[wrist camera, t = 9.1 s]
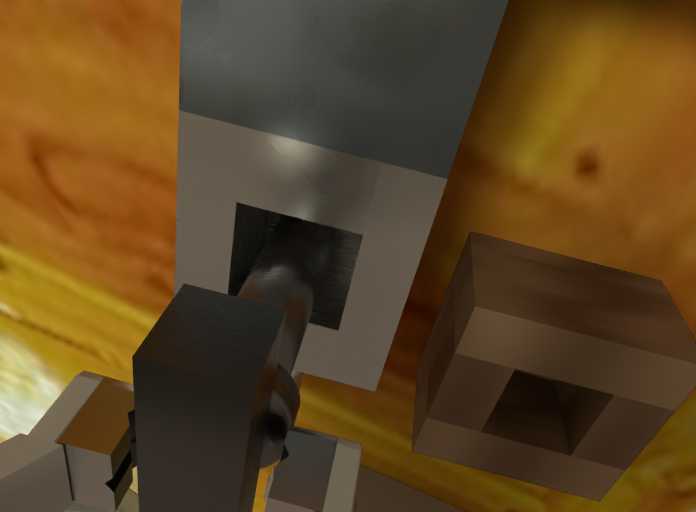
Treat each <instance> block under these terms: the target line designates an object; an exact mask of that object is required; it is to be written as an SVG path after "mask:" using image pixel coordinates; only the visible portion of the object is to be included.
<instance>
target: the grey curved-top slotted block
mask: <svg viewBox="0 0 696 512" xmlns="http://www.w3.org/2000/svg"><path fill="white" fill-rule="evenodd" d="M276 468H277V467H276V466H273V469H272V472H271V475H270V476H269V477H268V480H267V485H266V489H265V494H264V501H266V502H267V498H268V495H269V491H270V488H271V485H272V481H273V478H274V475H275V471H276ZM352 512H465V511H462V510H460V509H458V508H456V507H453V506H451V505H449V504H447V503H444V502H442V501H440V500H438V499H435V498H433V497H431V496H429V495H426V494H424V493H422V492H420V491H417V490H415V489H413V488H411V487H409V486H406V485H404V484H402V483H400V482H397V481H395V480H393V479H391V478H388V477H386V476H384V475H382V474H379V473H377V472H375V471H373V470H370V469H368V468H366V467H364V466H361V465H360V467H359V473H358V479H357V485H356V492H355V498H354V504H353V511H352Z"/></svg>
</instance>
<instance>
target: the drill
mask: <svg viewBox="0 0 696 512" xmlns="http://www.w3.org/2000/svg"><path fill="white" fill-rule="evenodd" d="M508 1H509V0H181V41H180V83H179V126H178V168H177V210H176V253H175V295H176V294H177V293H178V291H179V290H180V288H181V287H182V285H183V284H184V283H185V284H189V285H193V286H197V287H201V288H205V289H209V290H213V291H217V292H221V293H224V294H228V295H232V296H236V297H237V296H238V294H239V292H240V290H241V288H242V286H243V285H244V283H245V281H246V279H247V277H248V275H249V273H250V272H251V270H252V268H253V266H254V264H255V262H256V260H257V259H258V257H259V255H260V253H261V251H262V249H263V248H264V246H265V244H266V242H267V240H268V238H269V236H270V235H271V233H272V231H273V229H274V227H275V225H276V223H277V222H278V220H279V218H280V216H281V214H284V215H288V216H292V217H296V218H300V219H303V220H307V221H311V222H315V223H319V224H323V225H327V226H330V227H334V228H338V229H339V232H338V235H337V238H336V241H335V244H334V247H333V250H332V253H331V256H330V259H329V262H328V265H327V268H326V271H325V274H324V277H323V280H322V283H321V286H320V289H319V292H318V295H317V298H316V301H315V304H314V307H313V310H312V313H311V316H310V319H309V322H308V325H307V328H306V331H305V334H304V337H303V340H302V343H301V346H300V350H299V353H298V356H297V359H296V362H295V365H294V368H293V371H292V374H291V376H292V378H293V380H294V381H295V383H296V385H297V387H298V390H299V391H300V386H301V382H302V377H303V373H306V374H310V375H314V376H317V377H321V378H325V379H329V380H333V381H336V382H340V383H344V384H348V385H351V386H355V387H359V388H363V389H366V390H370V391H374V392H375V391H376V388H377V385H378V382H379V379H380V376H381V373H382V370H383V367H384V365H385V362H386V359H387V356H388V353H389V350H390V347H391V344H392V341H393V338H394V335H395V332H396V329H397V326H398V324H399V321H400V318H401V315H402V312H403V309H404V306H405V303H406V300H407V297H408V294H409V291H410V288H411V285H412V283H413V280H414V277H415V274H416V271H417V268H418V265H419V262H420V259H421V256H422V253H423V250H424V247H425V244H426V242H427V239H428V236H429V233H430V230H431V227H432V224H433V221H434V218H435V215H436V212H437V209H438V206H439V203H440V201H441V198H442V195H443V192H444V189H445V186H446V183H447V180H448V177H449V174H450V171H451V168H452V165H453V162H454V160H455V157H456V154H457V151H458V148H459V145H460V142H461V139H462V136H463V133H464V130H465V127H466V124H467V121H468V119H469V116H470V113H471V110H472V107H473V104H474V101H475V98H476V95H477V92H478V89H479V86H480V83H481V80H482V78H483V75H484V72H485V69H486V66H487V63H488V60H489V57H490V54H491V51H492V48H493V45H494V42H495V39H496V37H497V34H498V31H499V28H500V25H501V22H502V19H503V16H504V13H505V10H506V7H507V4H508ZM175 295H174V297H175Z"/></svg>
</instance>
